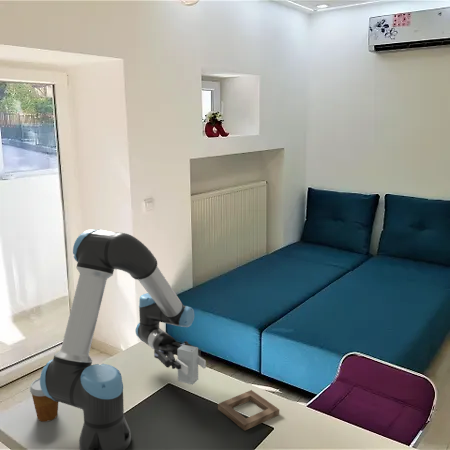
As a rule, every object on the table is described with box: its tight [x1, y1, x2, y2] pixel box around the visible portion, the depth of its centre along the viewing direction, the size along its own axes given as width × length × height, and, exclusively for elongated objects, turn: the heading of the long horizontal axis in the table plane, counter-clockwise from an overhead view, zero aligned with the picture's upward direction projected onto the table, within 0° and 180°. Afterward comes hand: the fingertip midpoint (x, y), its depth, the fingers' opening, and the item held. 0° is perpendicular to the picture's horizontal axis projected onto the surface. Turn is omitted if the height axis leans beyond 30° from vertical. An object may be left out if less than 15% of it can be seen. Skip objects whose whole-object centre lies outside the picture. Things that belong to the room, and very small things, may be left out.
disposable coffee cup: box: [29, 377, 59, 423], centre depth 161 cm, size 10×10×12 cm
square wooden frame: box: [217, 389, 280, 431], centre depth 165 cm, size 15×15×2 cm
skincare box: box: [176, 343, 199, 386], centre depth 168 cm, size 6×4×12 cm
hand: (196, 367), depth 164 cm, fingers closed on skincare box, 6 cm apart
